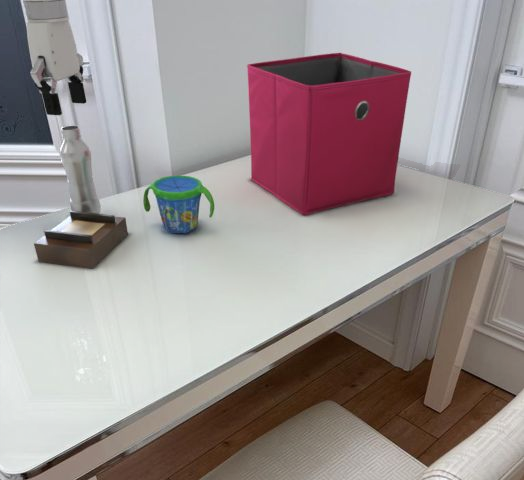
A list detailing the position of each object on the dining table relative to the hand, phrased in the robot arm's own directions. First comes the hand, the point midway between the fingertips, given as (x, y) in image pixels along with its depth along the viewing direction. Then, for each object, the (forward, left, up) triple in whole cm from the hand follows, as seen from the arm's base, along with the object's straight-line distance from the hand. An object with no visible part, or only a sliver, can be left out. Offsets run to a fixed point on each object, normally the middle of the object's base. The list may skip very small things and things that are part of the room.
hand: (67, 108), depth 113 cm
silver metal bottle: (0, 0, -24) cm, 24 cm away
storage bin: (+49, +32, -24) cm, 63 cm away
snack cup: (+23, 0, -24) cm, 33 cm away
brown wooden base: (+7, -14, -24) cm, 28 cm away
